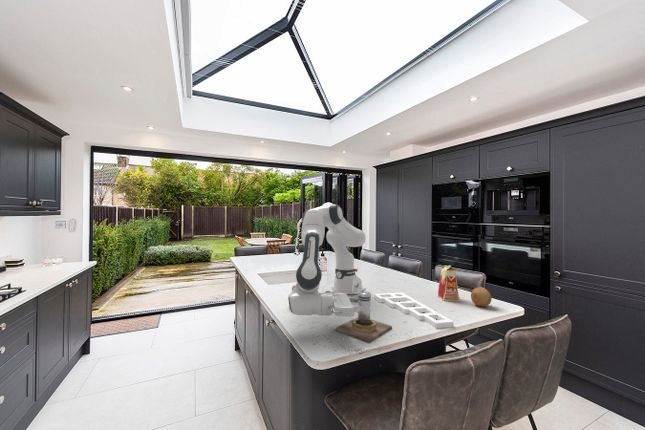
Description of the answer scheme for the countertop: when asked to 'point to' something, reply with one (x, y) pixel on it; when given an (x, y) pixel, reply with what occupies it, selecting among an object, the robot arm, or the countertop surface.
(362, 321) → the piston
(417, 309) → the holder
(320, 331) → the countertop surface
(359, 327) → the ring stand
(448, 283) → the milk carton
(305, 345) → the countertop surface
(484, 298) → the onion
